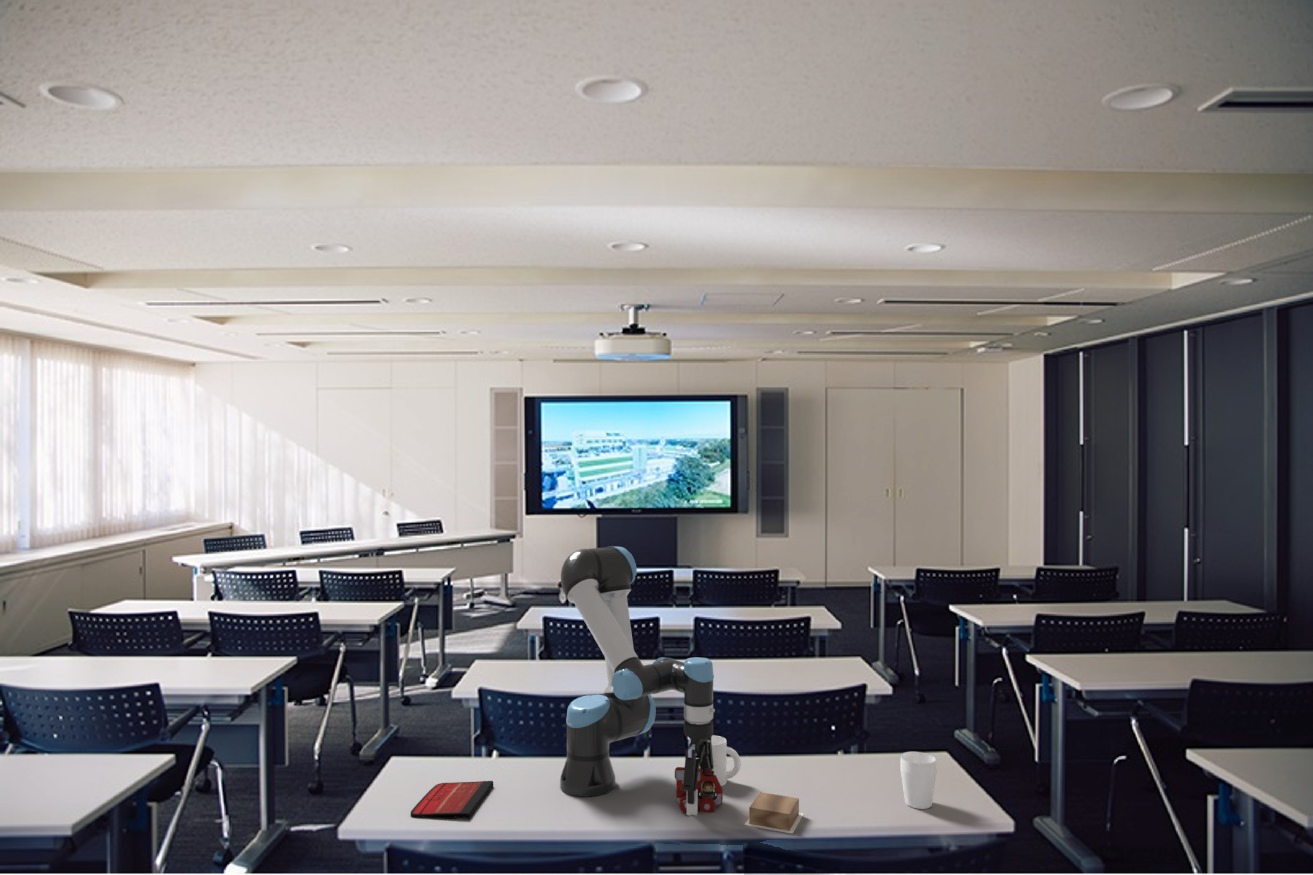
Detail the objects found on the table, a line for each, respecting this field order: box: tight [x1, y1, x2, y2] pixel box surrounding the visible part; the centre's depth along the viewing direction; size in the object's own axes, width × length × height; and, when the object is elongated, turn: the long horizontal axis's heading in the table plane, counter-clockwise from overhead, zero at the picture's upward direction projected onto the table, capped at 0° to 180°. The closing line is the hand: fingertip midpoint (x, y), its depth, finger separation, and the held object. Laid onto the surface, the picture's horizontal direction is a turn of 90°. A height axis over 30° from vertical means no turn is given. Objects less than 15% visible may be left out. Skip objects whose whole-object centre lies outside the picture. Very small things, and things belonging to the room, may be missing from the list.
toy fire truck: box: [674, 766, 724, 814], centre depth 213 cm, size 7×12×10 cm, turn 83°
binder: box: [410, 780, 494, 821], centre depth 217 cm, size 16×2×21 cm
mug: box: [699, 734, 742, 790], centre depth 229 cm, size 8×12×12 cm
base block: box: [748, 791, 800, 831], centre depth 206 cm, size 10×10×4 cm
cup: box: [899, 751, 937, 810], centre depth 217 cm, size 9×9×12 cm
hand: (698, 807), depth 213 cm, fingers open, 9 cm apart
